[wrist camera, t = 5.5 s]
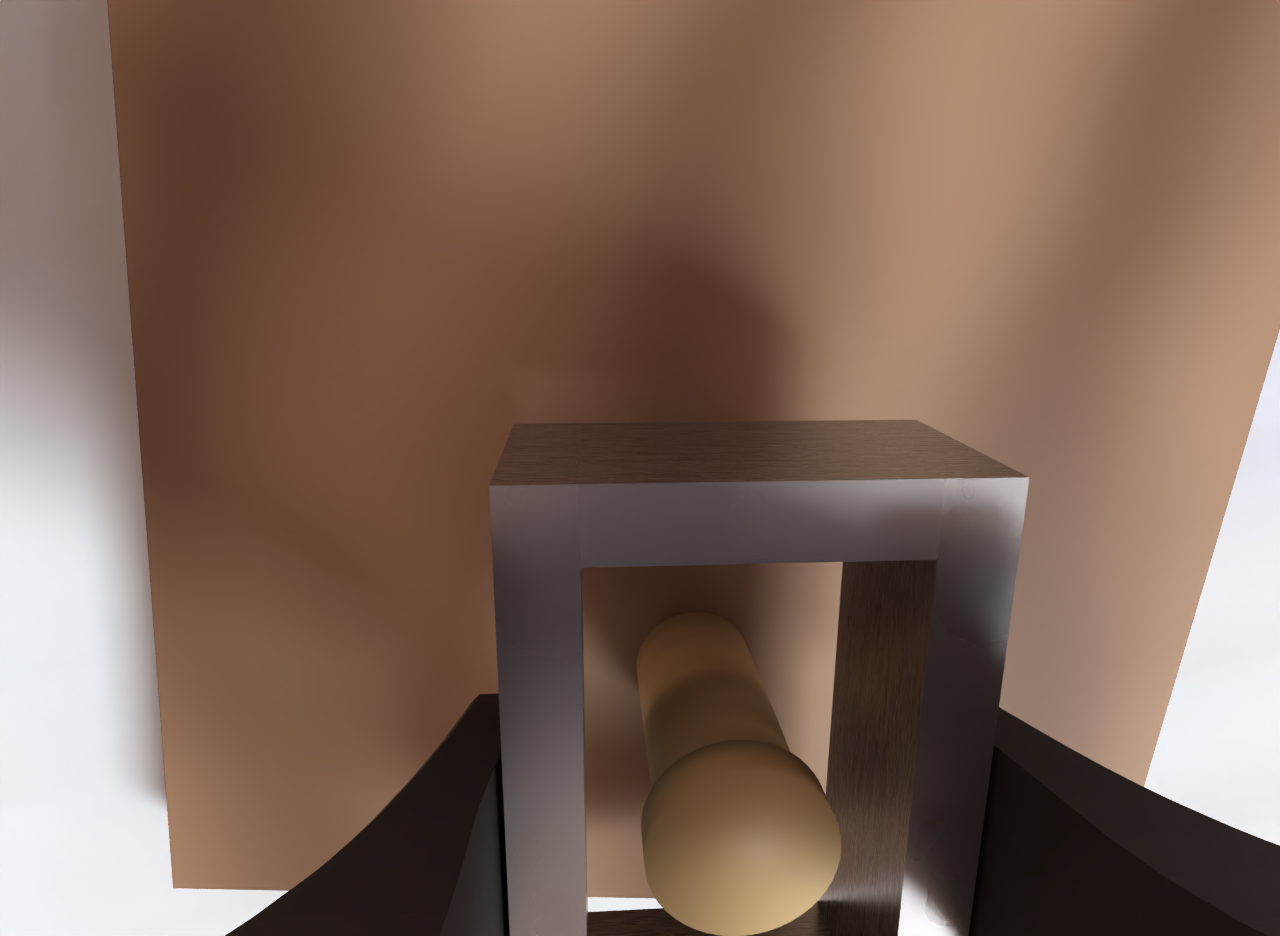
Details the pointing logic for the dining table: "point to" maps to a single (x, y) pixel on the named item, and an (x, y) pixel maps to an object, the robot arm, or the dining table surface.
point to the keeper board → (665, 373)
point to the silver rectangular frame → (865, 654)
